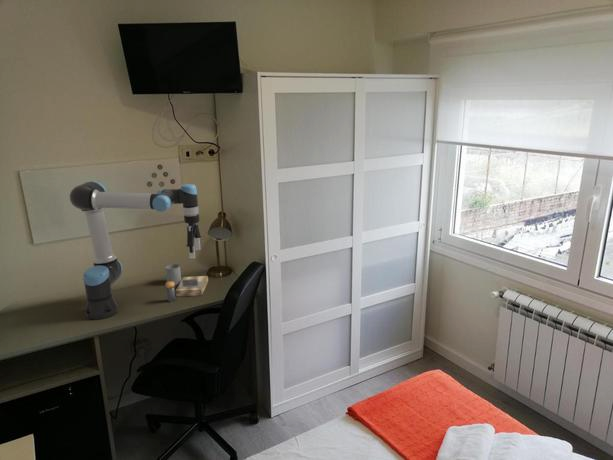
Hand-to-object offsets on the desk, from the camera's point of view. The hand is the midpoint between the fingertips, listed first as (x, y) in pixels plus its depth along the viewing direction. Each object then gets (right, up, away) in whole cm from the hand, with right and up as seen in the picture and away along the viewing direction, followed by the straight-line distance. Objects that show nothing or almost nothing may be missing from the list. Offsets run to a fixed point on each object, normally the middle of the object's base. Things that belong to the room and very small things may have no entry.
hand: (195, 254), depth 239 cm
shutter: (-6, -18, +15) cm, 24 cm away
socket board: (-6, -21, +19) cm, 29 cm away
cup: (-19, -18, +30) cm, 40 cm away
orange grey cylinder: (-14, -25, +5) cm, 29 cm away
